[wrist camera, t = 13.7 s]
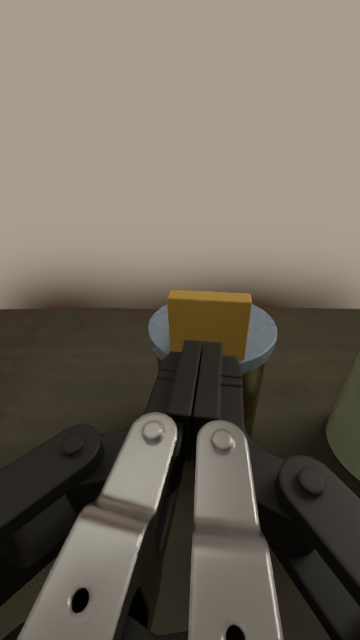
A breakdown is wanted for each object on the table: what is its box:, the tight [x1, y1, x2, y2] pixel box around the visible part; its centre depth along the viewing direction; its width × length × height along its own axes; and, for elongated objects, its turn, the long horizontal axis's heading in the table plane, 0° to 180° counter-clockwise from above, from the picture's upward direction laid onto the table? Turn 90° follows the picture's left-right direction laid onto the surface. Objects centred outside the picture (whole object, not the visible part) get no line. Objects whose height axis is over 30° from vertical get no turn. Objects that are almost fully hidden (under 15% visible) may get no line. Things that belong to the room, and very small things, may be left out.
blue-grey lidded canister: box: [148, 304, 277, 467], centre depth 20 cm, size 8×8×11 cm
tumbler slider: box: [167, 290, 252, 360], centre depth 15 cm, size 4×4×4 cm
